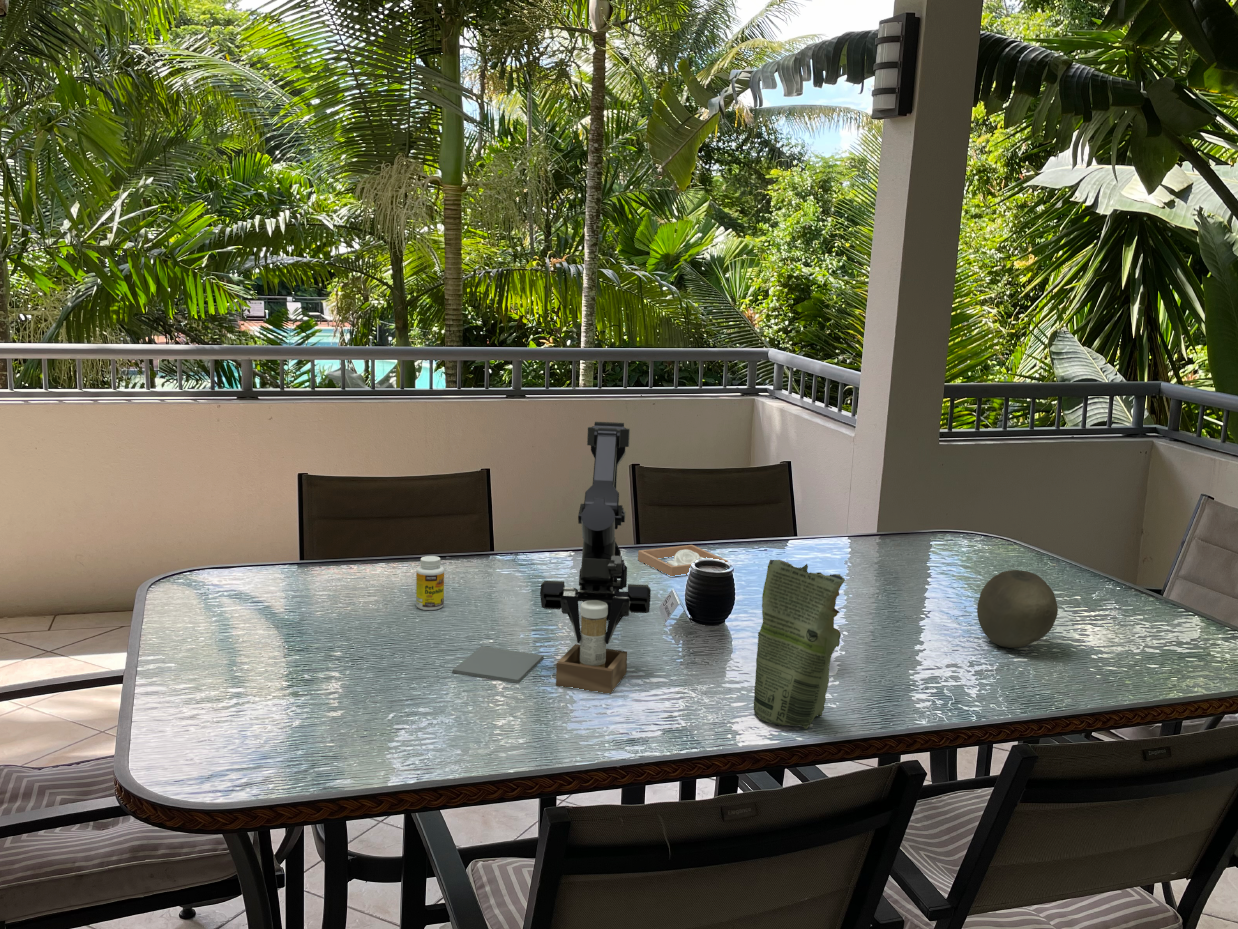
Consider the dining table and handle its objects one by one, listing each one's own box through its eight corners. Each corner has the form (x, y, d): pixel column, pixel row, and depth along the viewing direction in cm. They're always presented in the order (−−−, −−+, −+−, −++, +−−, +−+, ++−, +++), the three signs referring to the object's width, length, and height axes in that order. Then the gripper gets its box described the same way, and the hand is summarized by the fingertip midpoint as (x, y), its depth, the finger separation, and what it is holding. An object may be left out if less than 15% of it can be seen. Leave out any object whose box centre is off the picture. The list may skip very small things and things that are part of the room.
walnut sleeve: (574, 665, 174) (575, 644, 173) (626, 673, 171) (627, 651, 171) (555, 685, 165) (556, 663, 164) (610, 694, 162) (611, 671, 162)
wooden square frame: (691, 554, 250) (692, 544, 249) (727, 570, 236) (727, 560, 236) (637, 560, 242) (638, 550, 242) (671, 577, 229) (671, 567, 229)
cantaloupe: (973, 653, 188) (981, 576, 185) (974, 630, 201) (981, 558, 198) (1054, 665, 183) (1063, 587, 180) (1049, 641, 196) (1058, 567, 193)
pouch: (749, 701, 162) (759, 552, 157) (823, 704, 162) (835, 555, 157) (757, 731, 151) (767, 572, 146) (836, 734, 151) (849, 575, 146)
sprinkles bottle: (598, 673, 171) (601, 598, 169) (609, 682, 167) (612, 606, 165) (574, 676, 169) (576, 600, 167) (584, 686, 165) (587, 609, 163)
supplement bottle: (422, 612, 199) (422, 563, 197) (412, 604, 203) (412, 556, 201) (448, 608, 202) (448, 560, 200) (437, 601, 206) (437, 553, 204)
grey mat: (481, 649, 180) (481, 646, 180) (543, 658, 177) (543, 655, 177) (452, 673, 169) (452, 669, 169) (518, 683, 165) (518, 679, 165)
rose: (697, 543, 244) (716, 554, 235) (696, 561, 245) (715, 572, 236) (661, 546, 240) (679, 557, 231) (660, 564, 241) (678, 575, 232)
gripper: (542, 534, 168) (534, 618, 159) (652, 539, 168) (650, 624, 159) (545, 567, 177) (538, 648, 168) (650, 571, 177) (648, 652, 168)
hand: (592, 642), depth 165 cm, fingers closed on sprinkles bottle, 4 cm apart
